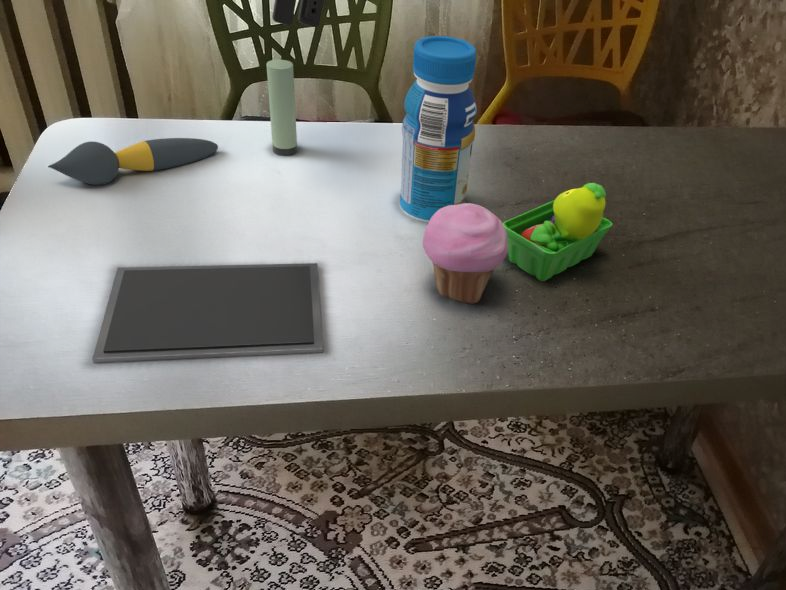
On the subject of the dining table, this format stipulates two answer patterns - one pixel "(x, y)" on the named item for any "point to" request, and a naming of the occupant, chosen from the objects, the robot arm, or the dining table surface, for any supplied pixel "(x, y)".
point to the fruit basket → (558, 232)
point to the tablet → (211, 312)
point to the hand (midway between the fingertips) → (294, 24)
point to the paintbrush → (130, 158)
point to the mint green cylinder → (282, 107)
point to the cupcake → (464, 249)
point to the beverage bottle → (438, 127)
